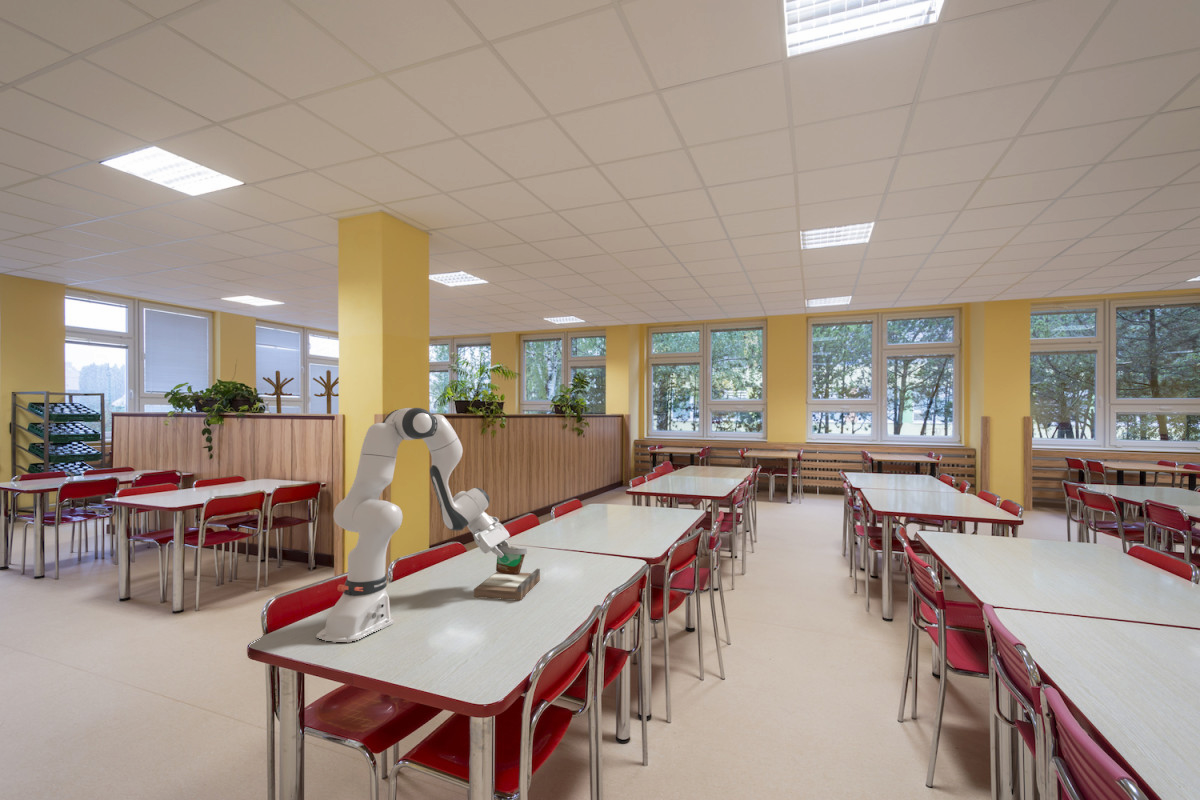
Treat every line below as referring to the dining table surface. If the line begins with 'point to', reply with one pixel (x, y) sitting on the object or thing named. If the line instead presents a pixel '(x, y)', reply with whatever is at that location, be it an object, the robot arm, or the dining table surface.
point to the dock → (507, 585)
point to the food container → (510, 560)
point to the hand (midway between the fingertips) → (506, 553)
